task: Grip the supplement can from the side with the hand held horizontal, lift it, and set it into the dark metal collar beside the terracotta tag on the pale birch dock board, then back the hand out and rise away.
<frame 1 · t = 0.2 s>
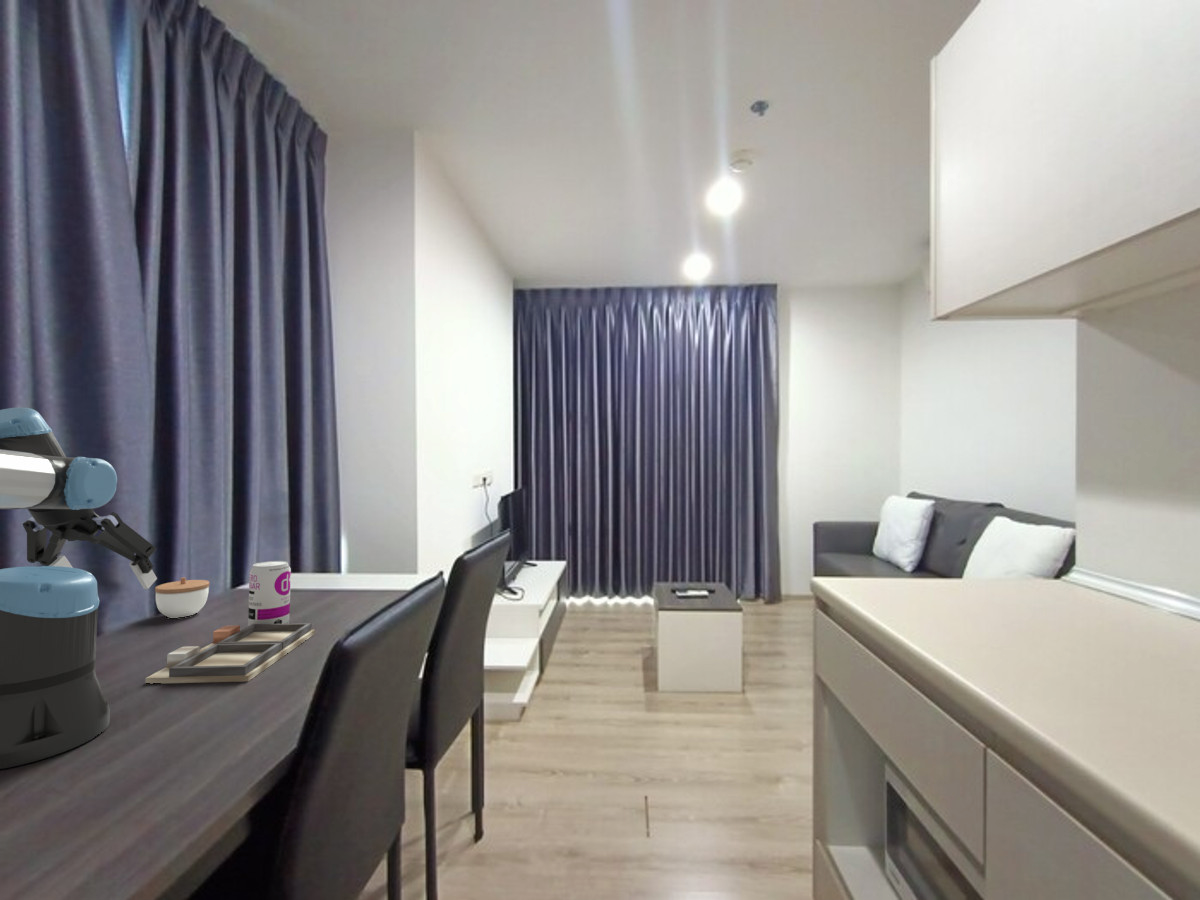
hand: (112, 585, 100), 15 cm above the table, tool tilted 35°, fingers open, 13 cm apart
supplement can: (268, 629, 123), on the table
lidded jar: (182, 616, 132), on the table
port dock: (241, 655, 105), on the table
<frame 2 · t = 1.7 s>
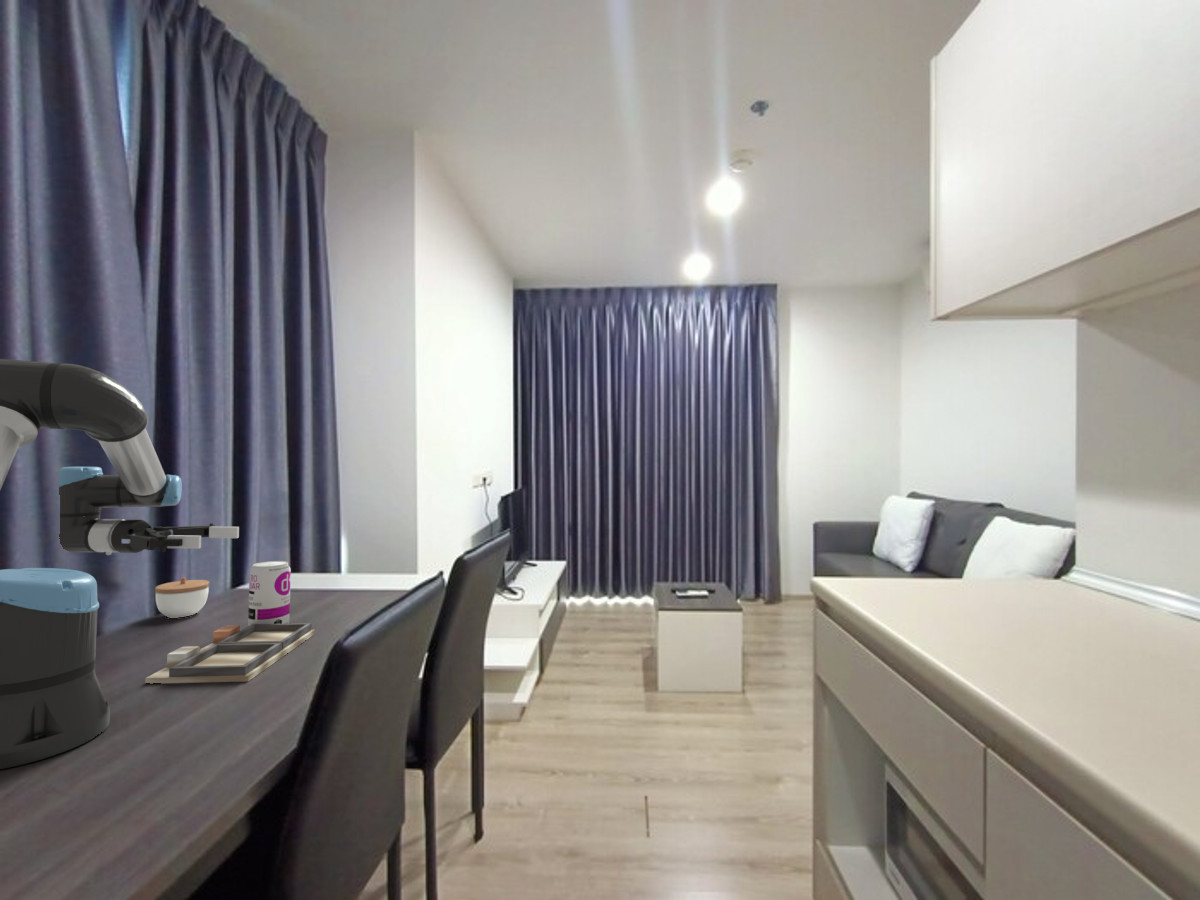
hand: (220, 537, 122), 21 cm above the table, tool horizontal, fingers open, 13 cm apart
nothing on the table moved.
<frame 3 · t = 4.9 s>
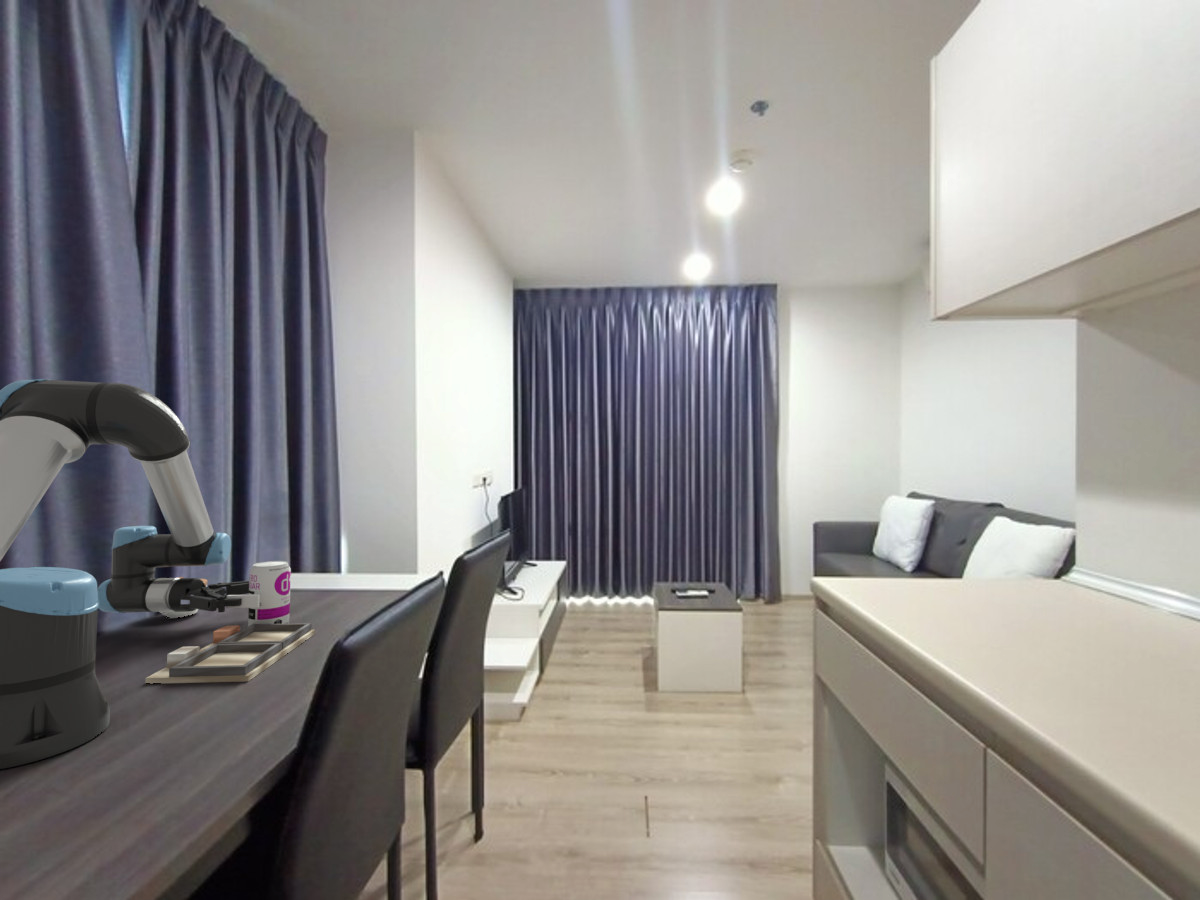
hand: (274, 593, 123), 8 cm above the table, tool horizontal, fingers open, 13 cm apart
nothing on the table moved.
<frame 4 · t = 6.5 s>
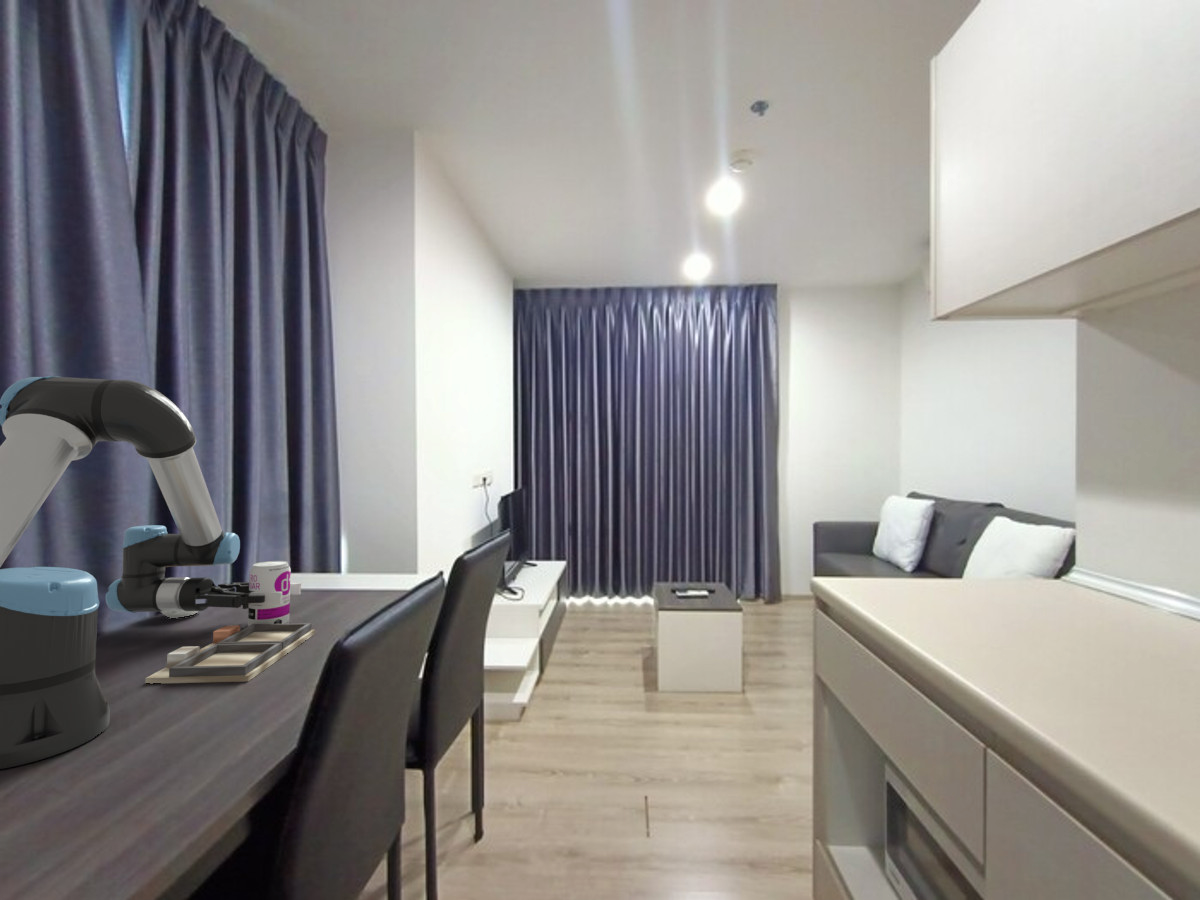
hand: (291, 593, 123), 8 cm above the table, tool horizontal, fingers closed on supplement can, 8 cm apart
supplement can: (268, 628, 123), on the table, touching gripper
everything else where it was.
when the fingers open (10 cm above the table, at t = 12.2 s): supplement can drops 1 cm, resting on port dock.
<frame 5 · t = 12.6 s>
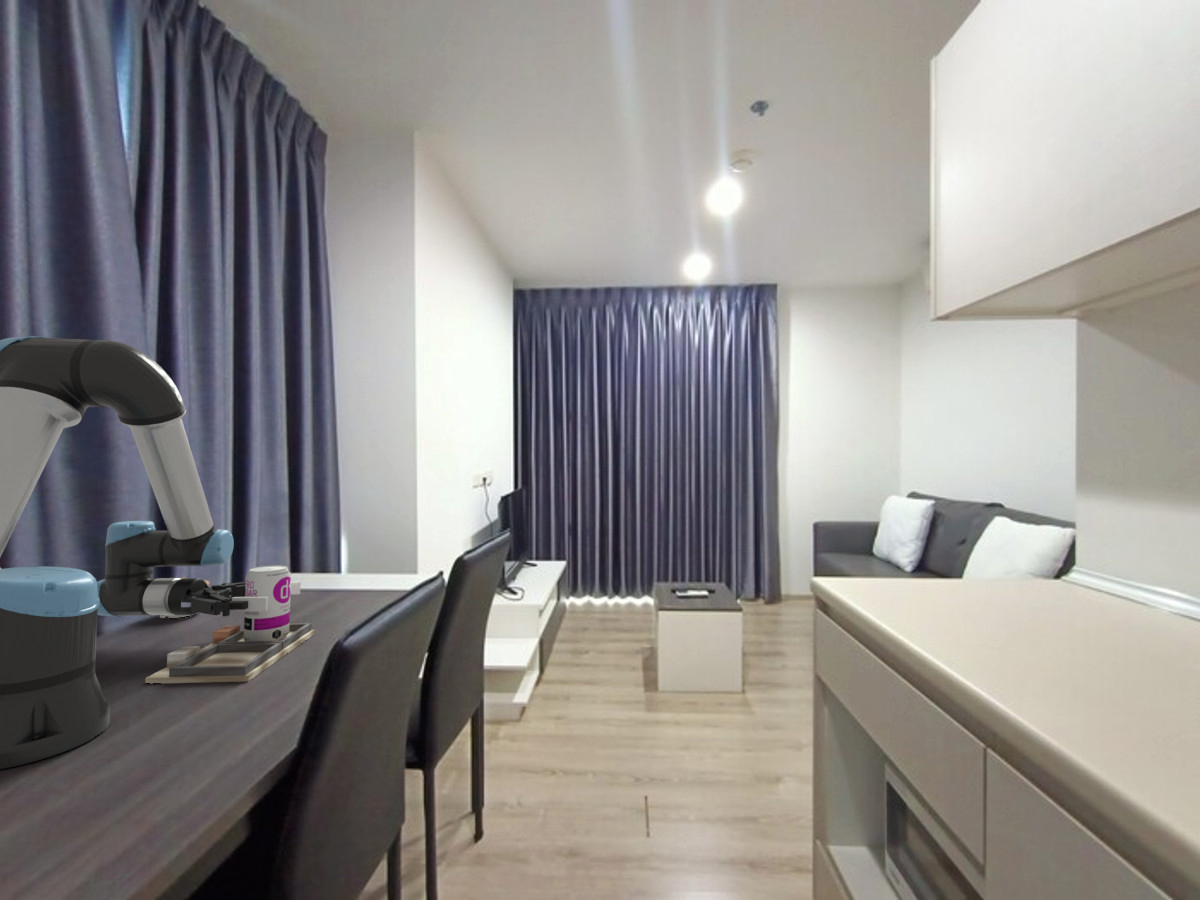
hand: (284, 595, 112), 10 cm above the table, tool horizontal, fingers open, 13 cm apart
supplement can: (266, 640, 112), point 1 cm above the table, touching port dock
everything else where it was.
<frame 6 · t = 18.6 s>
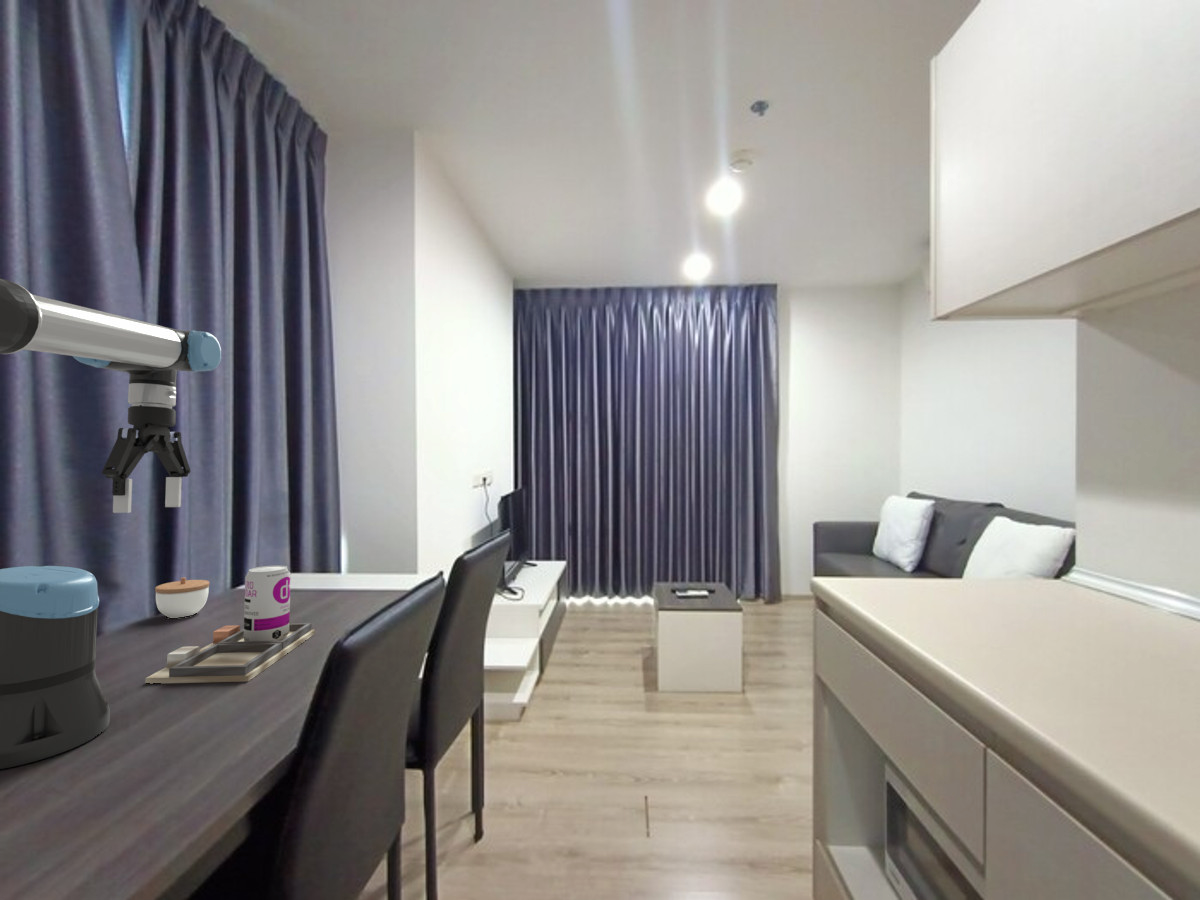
hand: (149, 509, 108), 29 cm above the table, tool pointing down, fingers open, 13 cm apart
nothing on the table moved.
at the end: supplement can 0.0 cm from the target spot on the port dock, point 0.8 cm above the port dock's base; supplement can tilted 0°; the gripper is holding nothing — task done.
